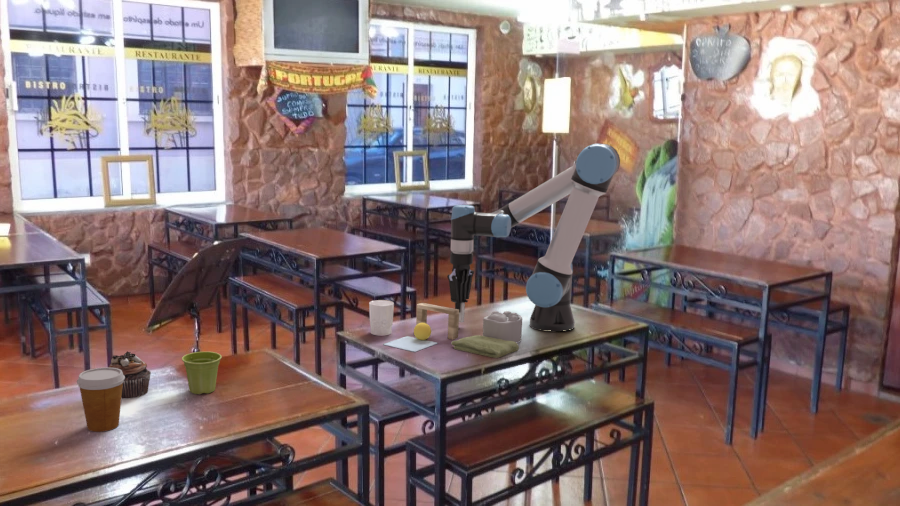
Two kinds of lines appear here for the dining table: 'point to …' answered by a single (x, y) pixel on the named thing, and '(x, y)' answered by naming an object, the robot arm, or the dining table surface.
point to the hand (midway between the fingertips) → (459, 321)
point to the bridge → (452, 317)
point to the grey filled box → (503, 326)
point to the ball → (422, 331)
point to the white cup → (381, 317)
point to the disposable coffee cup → (101, 397)
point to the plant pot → (201, 371)
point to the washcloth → (485, 346)
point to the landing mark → (410, 344)
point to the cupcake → (132, 375)
